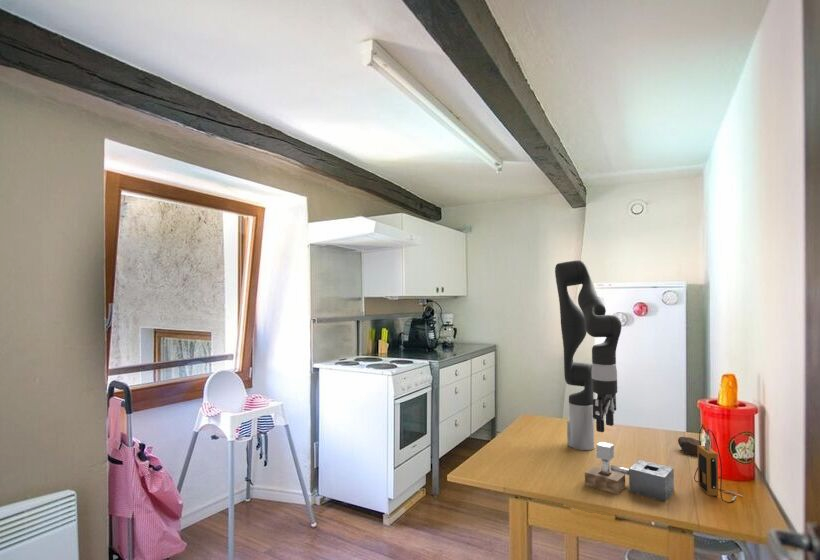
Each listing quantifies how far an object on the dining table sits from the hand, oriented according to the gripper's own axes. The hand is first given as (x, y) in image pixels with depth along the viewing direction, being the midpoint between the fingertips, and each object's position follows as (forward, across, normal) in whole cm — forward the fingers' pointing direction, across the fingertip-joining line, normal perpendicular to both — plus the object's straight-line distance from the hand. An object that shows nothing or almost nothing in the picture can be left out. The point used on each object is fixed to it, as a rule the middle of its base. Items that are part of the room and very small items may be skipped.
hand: (605, 428), depth 145 cm
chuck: (+18, +5, -8) cm, 21 cm away
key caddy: (+18, 0, 0) cm, 18 cm away
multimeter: (+19, +18, -28) cm, 38 cm away
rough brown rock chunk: (+19, +51, -14) cm, 57 cm away
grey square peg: (+17, 0, 0) cm, 17 cm away
